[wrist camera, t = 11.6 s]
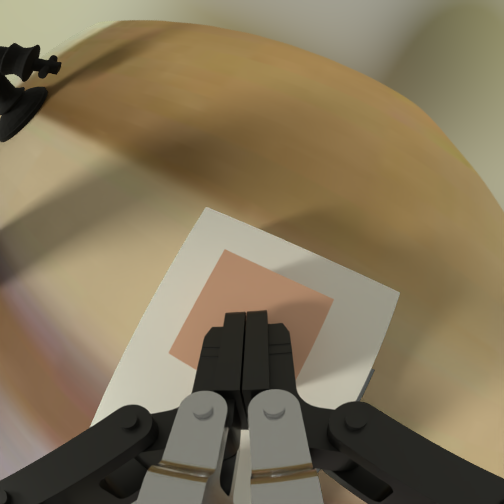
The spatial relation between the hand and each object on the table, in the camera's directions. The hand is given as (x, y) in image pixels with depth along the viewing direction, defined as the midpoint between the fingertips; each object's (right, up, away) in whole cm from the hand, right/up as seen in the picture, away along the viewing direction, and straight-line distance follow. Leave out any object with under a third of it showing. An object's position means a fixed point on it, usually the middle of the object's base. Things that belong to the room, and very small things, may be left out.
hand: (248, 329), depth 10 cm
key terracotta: (+1, -4, +10) cm, 11 cm away
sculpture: (-46, +33, +29) cm, 63 cm away
